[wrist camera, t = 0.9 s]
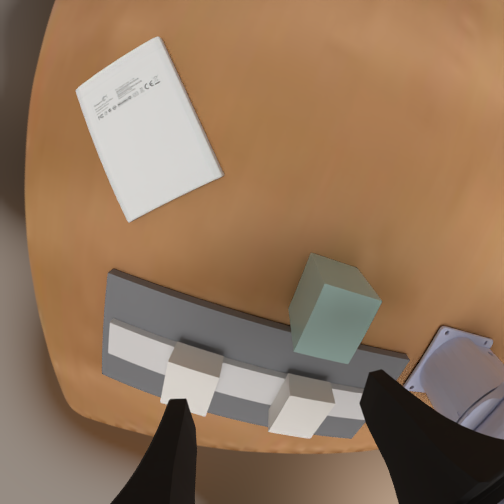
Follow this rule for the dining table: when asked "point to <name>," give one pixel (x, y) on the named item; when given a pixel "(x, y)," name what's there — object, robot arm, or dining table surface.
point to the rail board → (231, 362)
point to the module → (331, 310)
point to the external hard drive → (146, 130)
